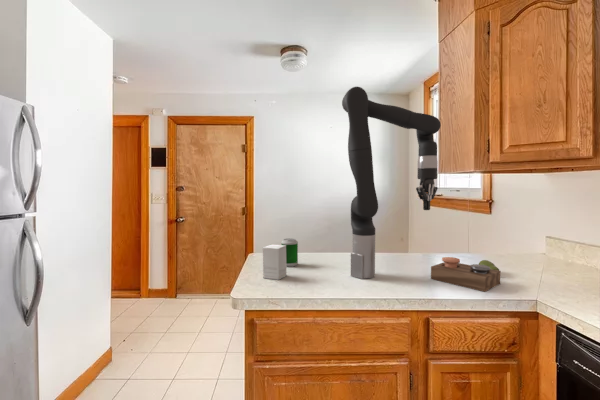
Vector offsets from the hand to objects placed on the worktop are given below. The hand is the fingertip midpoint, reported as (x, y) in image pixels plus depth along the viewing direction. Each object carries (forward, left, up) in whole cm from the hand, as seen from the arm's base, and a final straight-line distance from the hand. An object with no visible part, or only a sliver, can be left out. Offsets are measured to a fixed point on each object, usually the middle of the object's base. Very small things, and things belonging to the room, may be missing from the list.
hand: (426, 210), depth 132 cm
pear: (+23, -16, -27) cm, 39 cm away
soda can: (-33, +49, -27) cm, 65 cm away
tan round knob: (+4, -9, -25) cm, 26 cm away
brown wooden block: (+4, -14, -27) cm, 31 cm away
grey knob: (+4, -20, -26) cm, 32 cm away
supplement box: (-49, +38, -27) cm, 68 cm away
